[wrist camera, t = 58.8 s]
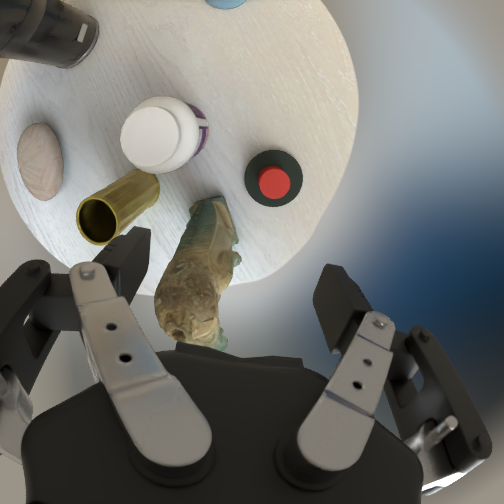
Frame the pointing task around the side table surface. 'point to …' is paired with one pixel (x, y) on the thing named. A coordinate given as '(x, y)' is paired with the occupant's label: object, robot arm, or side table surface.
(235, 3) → the bottle
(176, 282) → the statue
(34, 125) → the decorative stone
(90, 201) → the vase
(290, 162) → the coaster
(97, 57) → the side table surface
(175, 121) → the pill bottle
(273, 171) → the cap
